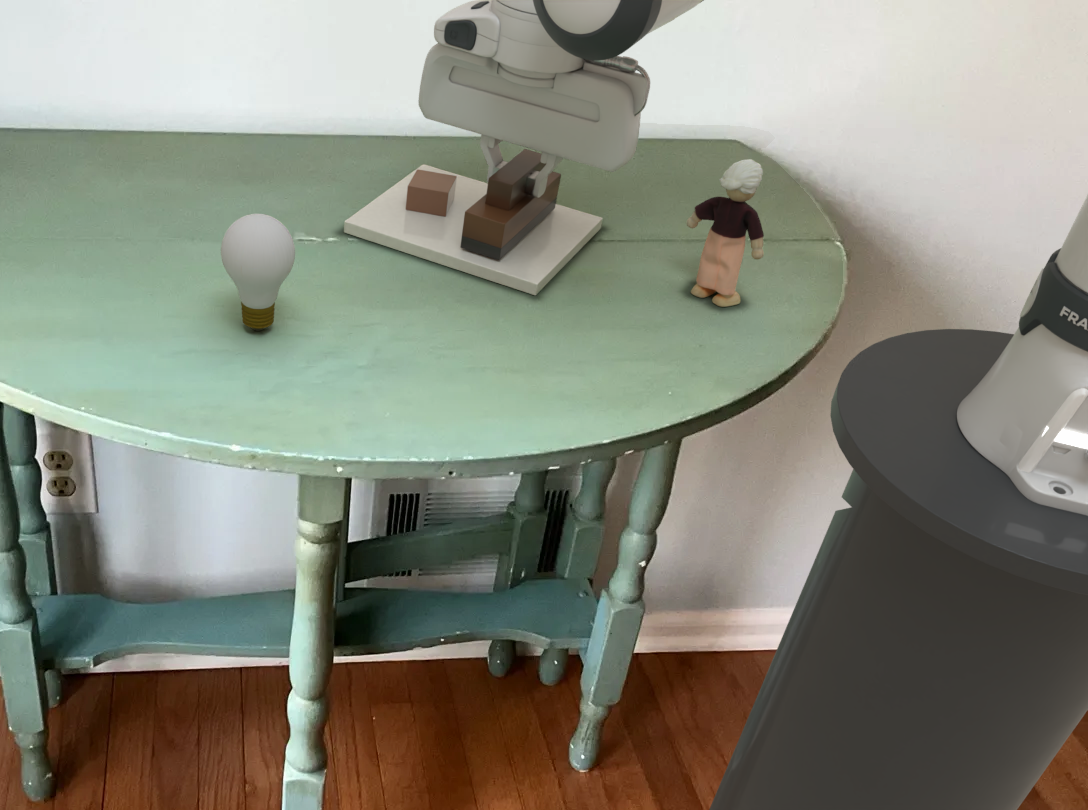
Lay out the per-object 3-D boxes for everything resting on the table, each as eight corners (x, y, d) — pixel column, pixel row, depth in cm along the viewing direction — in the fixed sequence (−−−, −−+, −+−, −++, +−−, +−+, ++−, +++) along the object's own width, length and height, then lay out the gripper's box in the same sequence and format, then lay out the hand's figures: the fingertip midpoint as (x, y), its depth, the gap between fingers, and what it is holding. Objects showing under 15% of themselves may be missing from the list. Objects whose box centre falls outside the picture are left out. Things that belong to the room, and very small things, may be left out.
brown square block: (454, 199, 117) (456, 175, 115) (445, 217, 114) (448, 192, 112) (414, 192, 118) (416, 168, 116) (405, 210, 115) (407, 185, 113)
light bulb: (304, 320, 101) (308, 210, 94) (274, 354, 96) (276, 242, 90) (242, 304, 102) (241, 194, 95) (209, 336, 98) (206, 224, 91)
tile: (600, 228, 117) (603, 217, 116) (535, 296, 106) (537, 284, 105) (421, 174, 124) (423, 163, 123) (343, 232, 113) (344, 221, 112)
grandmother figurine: (756, 299, 108) (798, 166, 100) (742, 316, 106) (784, 181, 97) (678, 272, 111) (712, 140, 103) (662, 288, 109) (696, 154, 100)
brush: (518, 197, 118) (527, 137, 114) (555, 208, 116) (566, 148, 112) (459, 247, 109) (468, 185, 105) (499, 260, 108) (509, 197, 104)
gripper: (667, 53, 100) (632, 206, 109) (451, -1, 107) (435, 148, 116) (642, 75, 95) (607, 233, 105) (418, 17, 102) (404, 170, 111)
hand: (515, 188), depth 110 cm, fingers closed on brush, 2 cm apart
